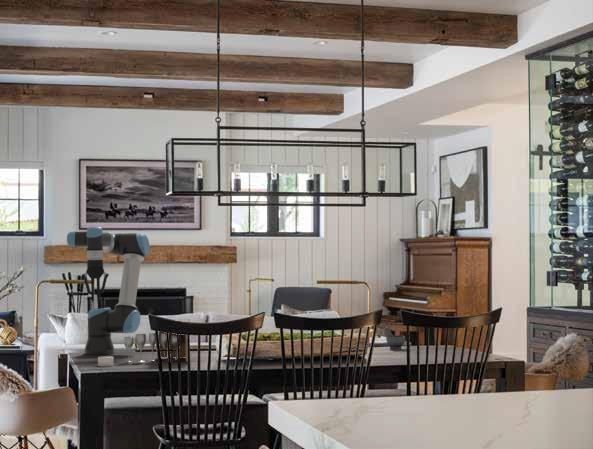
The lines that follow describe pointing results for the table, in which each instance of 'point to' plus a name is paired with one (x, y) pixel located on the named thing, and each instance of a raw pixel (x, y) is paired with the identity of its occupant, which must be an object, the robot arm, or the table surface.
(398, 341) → the mortar and pestle
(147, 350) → the table surface
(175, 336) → the goblet set
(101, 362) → the cream squat rounded piece
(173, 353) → the walnut shelf
